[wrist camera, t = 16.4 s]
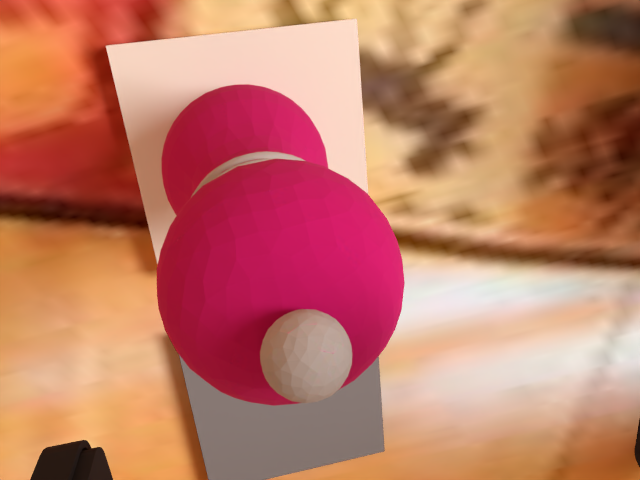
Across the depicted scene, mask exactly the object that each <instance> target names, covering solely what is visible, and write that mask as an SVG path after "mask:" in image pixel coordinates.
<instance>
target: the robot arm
mask: <svg viewBox="0 0 640 480" xmlns="http://www.w3.org/2000/svg"><path fill="white" fill-rule="evenodd" d="M635 457H636V461H637V463H638V465H639V467H640V420H639V426H638V432H637V439H636V445H635ZM30 480H113V478H112V475H111V472H110V469H109V466H108V462H107V459H106V456H105V453H104V451H103V449H102V448H101V447H97V448H92V449H91V446H90V444H89V443H88V442H87V441H86V440H81V441H76V442H71V443H67V444H62V445H57V446H52V447H47V448H45V449H44V450H43V451H42V453H41V455H40V457H39V460H38V462H37V464H36V467H35V469H34V472H33V474H32V477H31V479H30Z"/></svg>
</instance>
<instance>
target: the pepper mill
mask: <svg viewBox="0 0 640 480" xmlns="http://www.w3.org/2000/svg"><path fill="white" fill-rule="evenodd" d="M161 161H162V178H163V185H164V189H165V192H166V195H167V199H168V201H169V203H170V205H171V207H172V209H173V210H174V212H175V214H176V217H175V219H174V221H173V222H172V224H171V225H170V227H169V230H168V233H167V235H166V238H165V240H164V243H163V246H162V248H161V251H160V256H159V261H158V266H157V297H158V306H159V311H160V315H161V318H162V321H163V324H164V328H165V331H166V333H167V334H168V336H169V338H170V340H171V342H172V344H173V346H174V348H175V350H176V351H177V352H178V354H179V355H180V356H181V358H182V359H183V360H184V362H185V363H186V364H187V366H188V367H189V368H190V369H191V370H192V371H193V372H195V373H196V374H197V375H198V376H200V377H201V378H202V379H204V380H205V381H206V382H208V383H209V384H210V385H211V386H213V387H214V388H216V389H217V390H219V391H220V392H222V393H224V394H227V395H229V396H231V397H233V398H236V399H240V400H244V401H247V402H251V403H258V404H265V405H272V406H276V405H288V404H298V403H311V402H318V401H320V400H323V399H326V398H328V397H330V396H332V395H333V394H334V393H335V392H336V391H338V390H339V389H341V388H343V387H344V386H346V385H348V384H349V383H351V382H353V381H354V380H355V379H356V378H358V377H359V376H360V375H361V374H362V373H363V372H364V371H365V370H366V369H367V368H368V367H369V366H370V365H372V364H373V362H374V361H375V360H376V358H377V357H378V356H379V355H380V353H381V352H382V351H383V349H384V348H385V347H386V345H387V343H388V341H389V339H390V338H391V336H392V334H393V332H394V330H395V328H396V325H397V322H398V319H399V316H400V313H401V308H402V299H403V290H404V274H403V264H402V257H401V254H400V250H399V246H398V242H397V239H396V237H395V235H394V233H393V231H392V229H391V227H390V224H389V222H388V220H387V218H386V217H385V216H384V214H383V213H382V212H381V211H380V209H379V208H378V207H377V205H376V204H375V203H374V202H373V200H372V199H371V198H370V196H369V195H368V194H367V193H366V192H365V191H364V190H362V189H361V188H360V187H359V186H357V185H356V184H355V183H353V182H352V181H351V180H349V179H348V178H346V177H344V176H342V175H340V174H338V173H336V172H334V171H332V170H330V169H328V162H327V156H326V150H325V146H324V144H323V141H322V139H321V136H320V134H319V132H318V130H317V128H316V127H315V125H314V123H313V122H312V120H311V119H310V117H309V116H308V115H307V114H306V113H305V111H304V110H303V109H302V108H301V107H300V106H299V105H297V104H296V103H295V102H294V101H293V100H291V99H290V98H288V97H286V96H285V95H283V94H281V93H279V92H277V91H274V90H272V89H269V88H266V87H262V86H256V85H250V84H237V85H230V86H224V87H220V88H217V89H215V90H212V91H209V92H207V93H205V94H203V95H202V96H200V97H198V98H197V99H195V100H194V101H192V102H191V103H190V104H189V105H188V106H187V107H186V108H185V109H184V110H183V111H182V112H181V113H180V114H179V115H178V117H177V118H176V119H175V121H174V122H173V124H172V126H171V128H170V130H169V132H168V134H167V137H166V140H165V143H164V146H163V152H162V159H161Z"/></svg>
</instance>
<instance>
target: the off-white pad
mask: <svg viewBox="0 0 640 480" xmlns="http://www.w3.org/2000/svg"><path fill="white" fill-rule="evenodd" d="M106 49H107V53H108V58H109V62H110V66H111V70H112V75H113V79H114V83H115V87H116V91H117V96H118V100H119V104H120V108H121V112H122V117H123V121H124V125H125V129H126V134H127V138H128V142H129V146H130V150H131V155H132V159H133V163H134V167H135V172H136V176H137V180H138V184H139V188H140V193H141V197H142V201H143V205H144V210H145V214H146V218H147V222H148V226H149V231H150V235H151V239H152V243H153V248H154V252H155V256H156V260H157V264H158V261H159V256H160V251H161V248H162V246H163V243H164V240H165V238H166V235H167V233H168V230H169V227H170V225H171V224H172V222H173V221H174V219H175V217H176V214H175V212H174V210H173V209H172V207H171V205H170V203H169V201H168V199H167V195H166V192H165V189H164V185H163V178H162V161H161V159H162V152H163V146H164V143H165V140H166V137H167V134H168V132H169V130H170V128H171V126H172V124H173V122H174V121H175V119H176V118H177V117H178V115H179V114H180V113H181V112H182V111H183V110H184V109H185V108H186V107H187V106H188V105H189V104H190V103H191V102H192V101H194V100H195V99H197V98H198V97H200V96H202V95H203V94H205V93H207V92H209V91H212V90H215V89H217V88H220V87H224V86H230V85H237V84H250V85H256V86H262V87H266V88H269V89H272V90H274V91H277V92H279V93H281V94H283V95H285V96H286V97H288V98H290V99H291V100H293V101H294V102H295V103H296V104H297V105H299V106H300V107H301V108H302V109H303V110H304V111H305V113H306V114H307V115H308V116H309V117H310V119H311V120H312V122H313V123H314V125H315V127H316V128H317V130H318V132H319V134H320V136H321V139H322V141H323V144H324V146H325V150H326V156H327V162H328V169H330V170H332V171H334V172H336V173H338V174H340V175H342V176H344V177H346V178H348V179H349V180H351V181H352V182H353V183H355V184H356V185H357V186H359V187H360V188H361V189H362V190H364V191H365V192H366V193H367V194H368V185H367V169H366V154H365V138H364V123H363V107H362V91H361V76H360V60H359V44H358V29H357V19H347V20H338V21H328V22H319V23H310V24H301V25H291V26H282V27H273V28H263V29H254V30H245V31H235V32H226V33H217V34H207V35H198V36H189V37H179V38H170V39H161V40H152V41H142V42H133V43H124V44H114V45H107V46H106Z"/></svg>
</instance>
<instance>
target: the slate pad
mask: <svg viewBox="0 0 640 480" xmlns="http://www.w3.org/2000/svg"><path fill="white" fill-rule="evenodd" d="M179 357H180V361H181V366H182V370H183V374H184V378H185V383H186V387H187V391H188V395H189V399H190V404H191V408H192V412H193V416H194V421H195V425H196V429H197V433H198V437H199V442H200V446H201V450H202V454H203V459H204V463H205V467H206V471H207V475H208V480H266V479H270V478H274V477H278V476H282V475H287V474H291V473H295V472H299V471H303V470H308V469H312V468H316V467H320V466H325V465H329V464H333V463H337V462H341V461H346V460H350V459H354V458H358V457H363V456H367V455H371V454H375V453H379V452H384V451H385V450H384V435H383V419H382V403H381V388H380V372H379V357H377V358H376V360H375V361H374V362H373V364H372V365H370V366H369V367H368V368H367V369H366V370H365V371H364V372H363V373H362V374H361V375H360V376H359V377H358V378H356V379H355V380H354V381H353V382H351V383H349V384H348V385H346V386H344V387H343V388H341V389H339V390H338V391H336V392H335V393H334V394H333V395H332V396H330V397H328V398H326V399H323V400H320V401H318V402H311V403H298V404H288V405H276V406H272V405H265V404H258V403H251V402H247V401H244V400H240V399H236V398H233V397H231V396H229V395H227V394H224V393H222V392H220V391H219V390H217V389H216V388H214V387H213V386H211V385H210V384H209V383H208V382H206V381H205V380H204V379H202V378H201V377H200V376H198V375H197V374H196V373H195V372H193V371H192V370H191V369H190V368H189V367H188V366H187V364H186V363H185V362H184V360H183V359H182V358H181V356H180V355H179Z"/></svg>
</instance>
